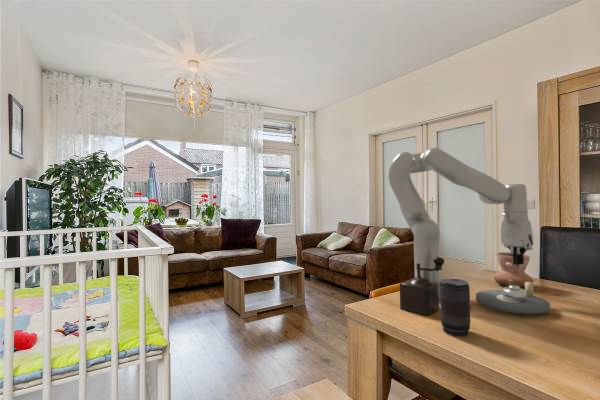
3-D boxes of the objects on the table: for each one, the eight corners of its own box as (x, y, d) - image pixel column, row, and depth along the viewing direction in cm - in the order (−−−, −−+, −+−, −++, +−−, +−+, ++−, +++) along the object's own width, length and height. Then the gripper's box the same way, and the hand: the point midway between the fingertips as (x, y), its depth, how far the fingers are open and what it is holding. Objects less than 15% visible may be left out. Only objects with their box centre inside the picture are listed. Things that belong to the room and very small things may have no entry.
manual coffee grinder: (429, 316, 104) (428, 263, 104) (399, 309, 112) (398, 259, 113) (447, 305, 115) (446, 256, 115) (419, 299, 123) (418, 253, 123)
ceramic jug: (529, 293, 127) (529, 258, 127) (489, 286, 138) (488, 254, 138) (537, 285, 140) (536, 253, 140) (500, 279, 150) (499, 250, 150)
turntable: (515, 317, 98) (514, 296, 98) (462, 297, 120) (461, 280, 120) (567, 309, 104) (566, 290, 104) (507, 291, 125) (507, 275, 125)
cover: (516, 303, 106) (516, 289, 106) (498, 297, 113) (497, 284, 113) (531, 301, 108) (531, 287, 108) (512, 295, 115) (511, 282, 115)
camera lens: (444, 324, 98) (443, 276, 98) (473, 330, 93) (472, 280, 93) (436, 333, 92) (435, 282, 92) (467, 340, 86) (466, 286, 87)
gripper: (491, 216, 125) (493, 261, 125) (527, 217, 111) (530, 268, 111) (505, 215, 127) (508, 260, 127) (543, 216, 113) (546, 266, 113)
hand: (518, 264), depth 119 cm, fingers closed
